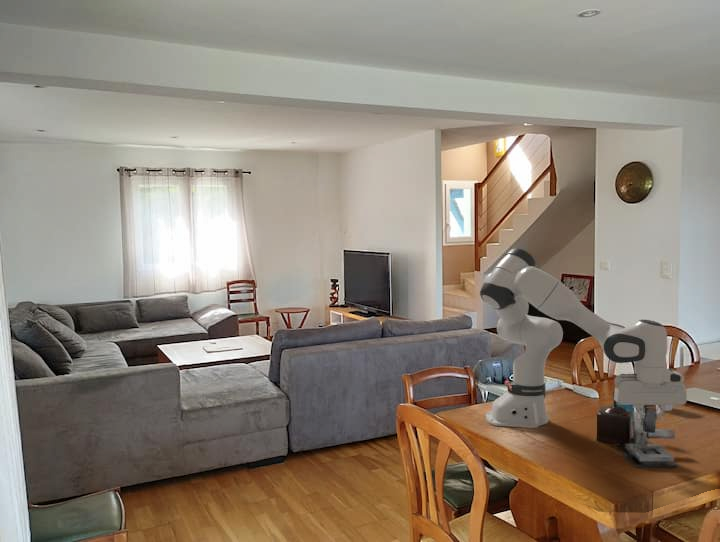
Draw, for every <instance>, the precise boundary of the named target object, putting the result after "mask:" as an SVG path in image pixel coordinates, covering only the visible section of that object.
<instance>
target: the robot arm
mask: <svg viewBox="0 0 720 542" xmlns="http://www.w3.org/2000/svg"><path fill="white" fill-rule="evenodd" d="M479 296H480V298H481V300H482V301H483V302H484V303H485V304H486V305H487V306H488V307H490V308H493V310H494V311H495V312H496V313H497V315H498V316H499V319H498V321H497V323H496V332H497V335H498V337H499V338H500V339H501V340H503V341H506V342H509V343H512V344H515V345H516V344H517V345H521V346H525V350H524V352H523V354H521V355H519V356H518V357H516V358H515V360H514V361H513V363H512V365H513V366H512V374H513V375H512V381H509V380H505V381H504V386H505V387H507V391H506V392H505V393H503V394H502V395H500V396H499V397H498V398H496V399H495V400H494V401H493V403H492V406H491V411H487V412H486V414H485V419H486V422H488V423H489V424H491V425H493V426H497V427H513V428H523V429H524V428H525V429H526V428H527V429H528V428H529V429H536V428H538V427H540V426H543V425H546V424H548V423H549V419H548V415H547V410H546V409H547V408H546V401H545V399H546V382H545V365H546V361H547V359H548V357H549V354H550V353H551V352H552V351H553V350H554V349H555V348H557V347H558V346H560V344H561V342H562V340H563V338H564V337H563V335H564V331H563V328H562V326H561V324H560V323H559V322H558V321H567V322H571V323H573V324H575V325H576V326H578V327H579V328H580V329H582V330H583V331H585V332H586V333H588V334H589V335H591V336H592V337H593V338H594V339H595V340H596V341H597V343H598V345H599V347H600V348H601V351H603V352H604V355H605V356H606V358H608V359H609V360H610V361H612V362H614V363H618V364H624V363H625V364H628V363H634V373H619V375H617V376H616V377H615V378H614V386H615V387H614V391H615V393H614V397H613V401H614V400H615V401H616V402H617V403H618V404H620V405H633V408H634V407H635V409H636V411H637V412H638V418H639V419H645V417H644V416H645V414H644V413H643V412H641V411H640V409H639V408H641V405H658V407H659V409H658V410H657V409H656V420H661V419H662V414H663V413H664V412H665V411H664V410H665V405H673V406H685V404H686V403H687V400H688V398H687V397H688V396H687V386H686V385H685V383H684V382H685V376H684V374H681V373H680V372H678V371H676V370H673V369H671V368H668V362H667V353H668V332H667V329H666V327H665V326H664V325H663V324H662V323H660V322H659V321H658V322H657V321H654V320H650V319H639V320H638V321H636V322H635V323H633V324H631V325H628V326H627V327H625V326H623V325H621V324H617V323H612V322H609V321H607V320H605V319H603V318H602V317H600V316H599V315H597V314H596V313H595V312H593V311H592V310H590V309H589V308H588V307H586V306H585V305H584V304H582V303H583V302H581V301H580V300H579V298H578V297H577V296H576V294H575V293H574V292H573V291H572V290H571V289H570V288H569V287H567V285H565V284H564V283H563V282H562V281H560V280H559V279H558V278H556V277H554V275H553V276H552V275H551V274H550V273H548V272H547V271H545V270H542V269H540V268H539V267H538V268H537V267H536V261H535V257H534V256H533V255H532V254H531V253H529V252H528V251H526V250H525V249H523V248H519V247H518V248H516V247H515V248H514V247H513V248H511V249H510V250H509V251H508V252H506V253H505V254H504V257H503V258H501V260H500V261H499V262H498V263H497V264H496V265H495V266H494V268H493V270H492V271H491V272H490V273H488V274H487V275H486V276H484V278H483V280H482V286H481V288H480V291H479ZM529 305H531V306H533V307H534V308H535V309H536V310H538V311H539V312H541V313H543V314H544V315H546V316H548V317H550V318H551V319H550V318H547V317H542V316H541V317H540V316H533V315H529V314H528V313H529ZM553 319H555V320H553ZM556 320H557V321H556Z"/></svg>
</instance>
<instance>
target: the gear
mask: <svg viewBox="0 0 720 542" xmlns="http://www.w3.org/2000/svg"><path fill="white" fill-rule="evenodd" d="M617 406H621V407H623V408H626V407H627V408H626V409H629V410H633V423H634V405H620V404H618V403H617Z"/></svg>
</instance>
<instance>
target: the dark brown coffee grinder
mask: <svg viewBox="0 0 720 542" xmlns="http://www.w3.org/2000/svg"><path fill="white" fill-rule="evenodd" d="M614 393H615V390H613V391H612V397H613V398H614ZM626 408H627V407H626ZM626 408H623V407H621V406H617V402H616V401H615V400H614V399H613V405H609V406H604V405H603V406H600V409H599V410H598V412H597V413H596V442H599V443H600V442H601V443H604V444H605V443H606V444H613V445H625V444H633V426H634V422H633V410H629V409H626Z"/></svg>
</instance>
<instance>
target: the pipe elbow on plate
mask: <svg viewBox="0 0 720 542" xmlns="http://www.w3.org/2000/svg"><path fill="white" fill-rule="evenodd" d="M633 408H634V422H633V441H632V443H631V444H625V445H618V444H615V448H616V449H617V450H618V451H619V452H620V453H621V454H622V455H623V457H624V458H626V459H627V460H628V462H630V463H631V464H632V465H633V466H634V467H635V468H637V469H638V468H639V469H640V468H641V469H643V468H644V469H645V468H647V469H649V468H650V469H651V468H653V469H654V468H656V469H657V468H658V469H660V468H662V469H664V468H665V469H667V468H668V469H678V464H676V463H675V462H674V461H675V457H674V456H673V455H672V454H671V453H670V452H669V451H667V450H666V449H665V448H664V447H662V446H661V445H660V444H659V443H648V439H653V440H654V439H661V440H662V439H664V440H665V439H670V440H671V439H675V437H676V436H675V434H676V433H675V430H674V429H667V428H666V429H663V428H660V429H658V428H657V429H655V432H654V433H649V432H645V431H643V419H639V418H638V412H637V411H636V409H635V407H634V406H633ZM643 408H644V405H641V408H639V409H640V411H641V412H643Z"/></svg>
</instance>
